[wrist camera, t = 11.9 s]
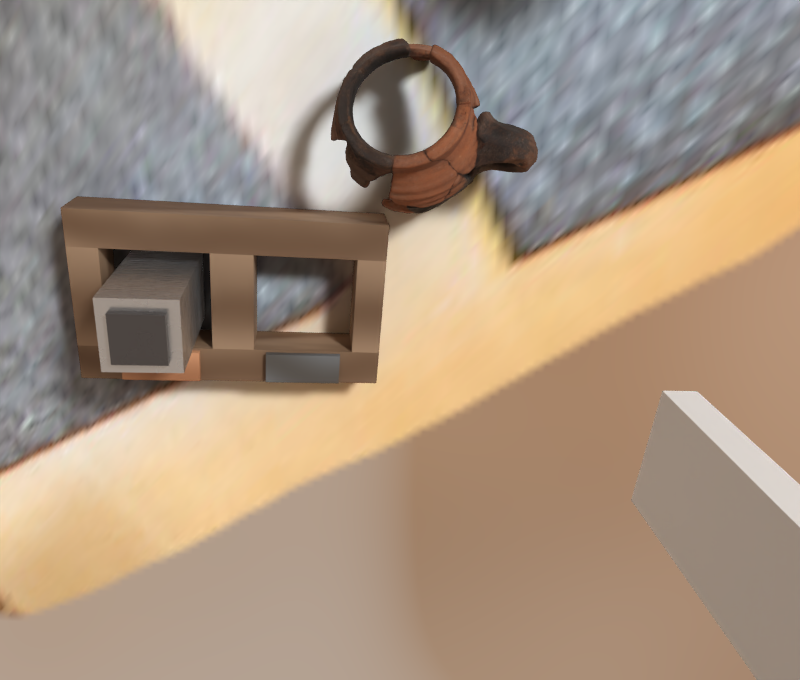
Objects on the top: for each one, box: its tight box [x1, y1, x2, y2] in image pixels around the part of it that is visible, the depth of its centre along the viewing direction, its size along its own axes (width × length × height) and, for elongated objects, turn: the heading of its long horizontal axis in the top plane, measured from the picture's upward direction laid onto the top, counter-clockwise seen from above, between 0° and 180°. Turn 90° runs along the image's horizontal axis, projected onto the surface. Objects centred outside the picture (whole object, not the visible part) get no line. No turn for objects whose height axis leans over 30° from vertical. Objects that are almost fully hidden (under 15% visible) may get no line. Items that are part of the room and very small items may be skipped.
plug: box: [93, 250, 205, 373], centre depth 39 cm, size 4×4×9 cm
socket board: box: [61, 196, 389, 383], centre depth 42 cm, size 11×19×3 cm, turn 85°
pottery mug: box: [331, 39, 538, 213], centre depth 39 cm, size 12×9×8 cm
